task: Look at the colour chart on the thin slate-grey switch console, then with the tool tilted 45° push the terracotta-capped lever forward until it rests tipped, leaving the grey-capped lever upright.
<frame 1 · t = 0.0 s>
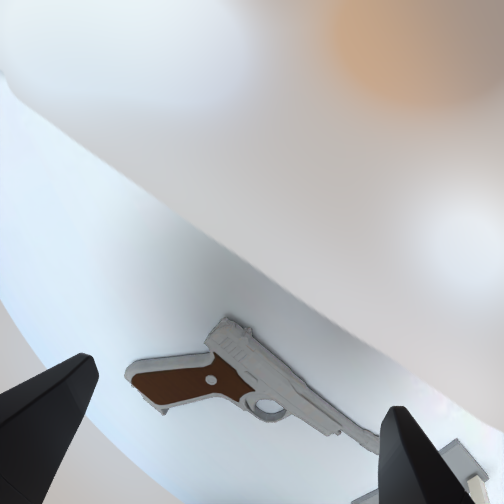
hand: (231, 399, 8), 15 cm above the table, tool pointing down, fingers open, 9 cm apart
handgun: (259, 411, 27), on the table
console: (425, 491, 25), on the table
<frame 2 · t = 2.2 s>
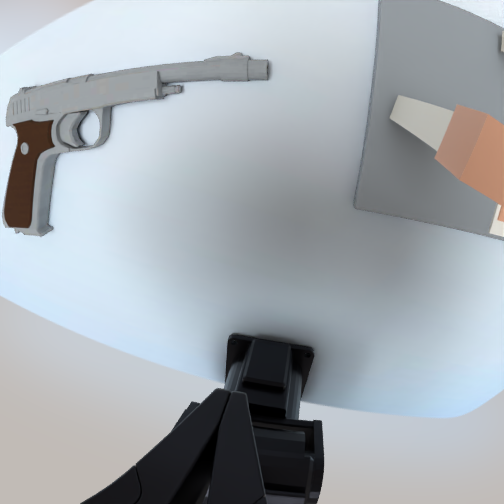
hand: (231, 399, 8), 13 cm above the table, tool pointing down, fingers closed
lever a: (453, 136, 10), point 7 cm above the table, hinge at -6.0°
handgun: (105, 153, 20), on the table
console: (464, 117, 15), on the table
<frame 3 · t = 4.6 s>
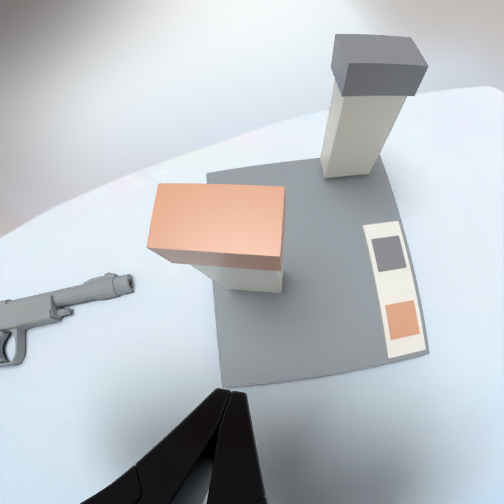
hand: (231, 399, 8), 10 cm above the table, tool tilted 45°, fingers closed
lever b: (360, 120, 15), point 7 cm above the table, hinge at -6.0°
lever a: (242, 259, 13), point 7 cm above the table, hinge at -6.0°
handgun: (25, 372, 19), on the table
console: (313, 261, 20), on the table
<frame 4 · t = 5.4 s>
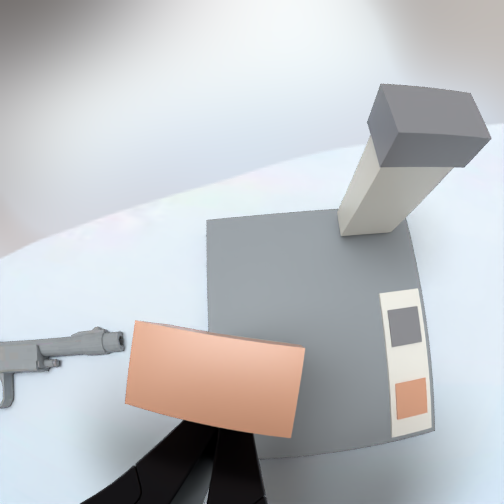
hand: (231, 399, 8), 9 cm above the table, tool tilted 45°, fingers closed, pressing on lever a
lever b: (392, 182, 13), point 7 cm above the table, hinge at -6.0°
lever a: (242, 360, 11), point 7 cm above the table, hinge at -5.9°, touching gripper
handgun: (14, 415, 17), on the table
console: (321, 330, 17), on the table
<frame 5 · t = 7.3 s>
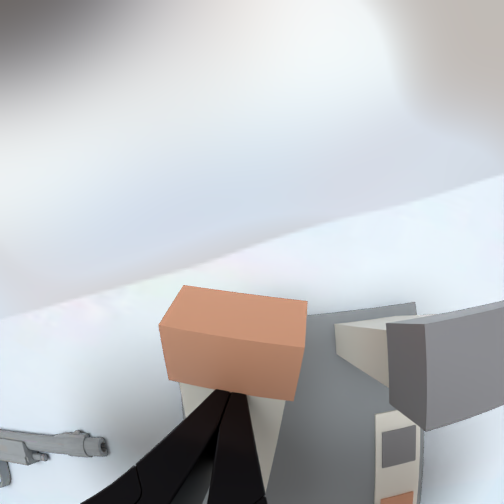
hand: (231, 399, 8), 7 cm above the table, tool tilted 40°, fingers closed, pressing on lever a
lever b: (407, 342, 9), point 7 cm above the table, hinge at -6.0°
lever a: (235, 425, 10), point 5 cm above the table, hinge at 46.2°, touching gripper
handgun: (14, 490, 14), on the table
console: (307, 447, 14), on the table
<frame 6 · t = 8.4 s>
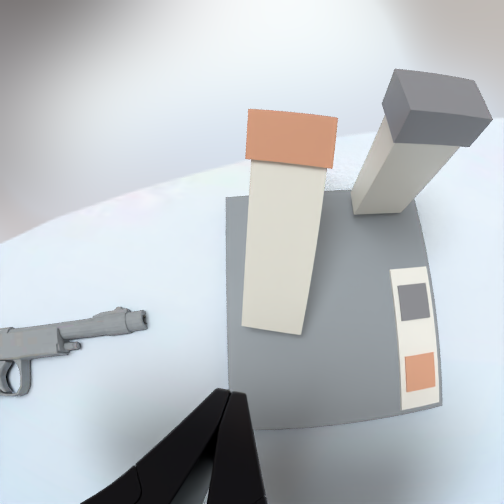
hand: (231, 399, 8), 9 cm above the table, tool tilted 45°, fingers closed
lever b: (403, 161, 13), point 7 cm above the table, hinge at -6.0°
lever a: (283, 229, 14), point 5 cm above the table, hinge at 46.2°
handgun: (31, 402, 18), on the table
console: (334, 303, 18), on the table
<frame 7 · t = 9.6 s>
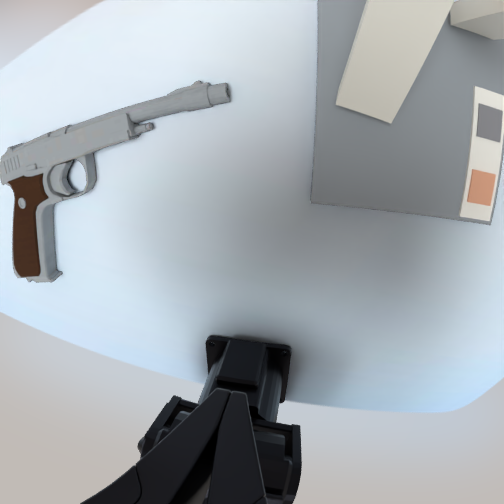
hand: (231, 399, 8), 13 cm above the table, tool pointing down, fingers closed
lever a: (397, 28, 10), point 5 cm above the table, hinge at 46.2°
handgun: (96, 196, 22), on the table
console: (418, 98, 15), on the table
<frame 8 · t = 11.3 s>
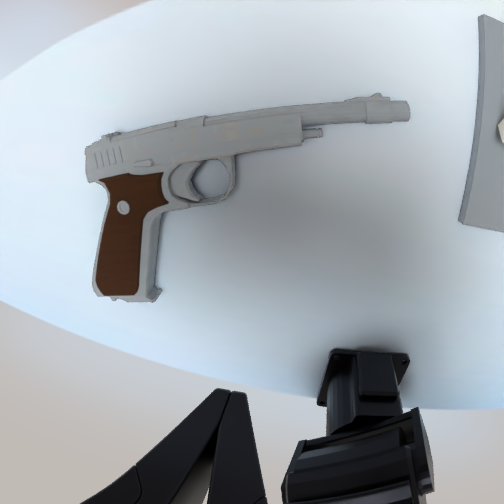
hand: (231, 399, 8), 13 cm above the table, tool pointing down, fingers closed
handgun: (227, 203, 21), on the table
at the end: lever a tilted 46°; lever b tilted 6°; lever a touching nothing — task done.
